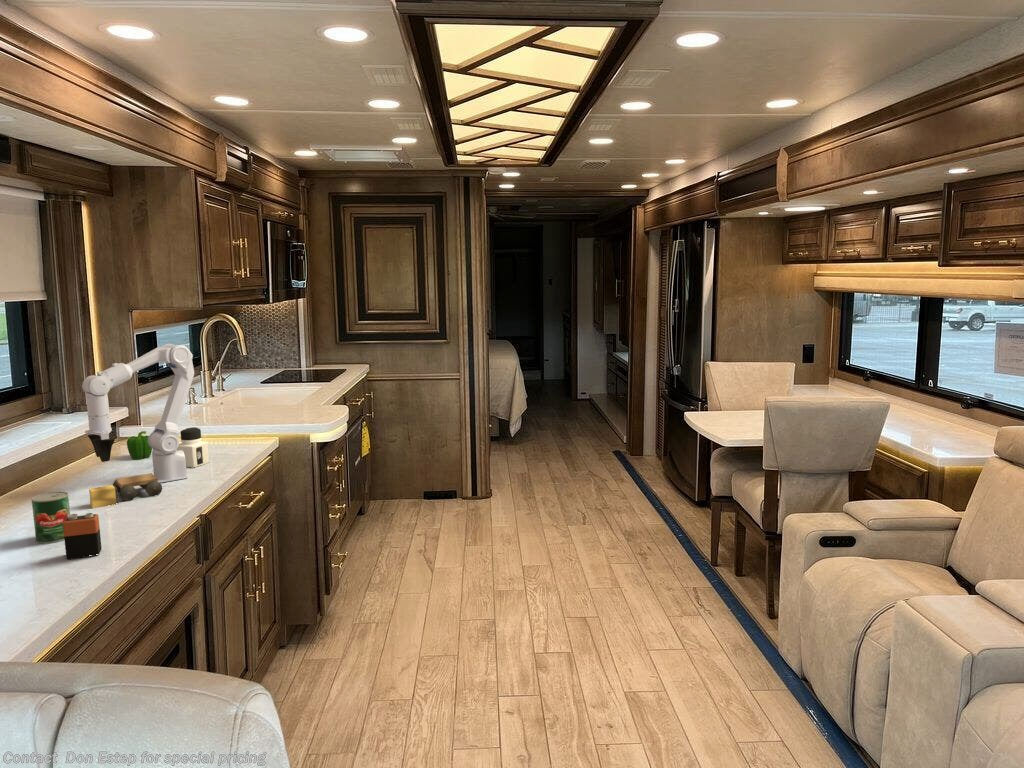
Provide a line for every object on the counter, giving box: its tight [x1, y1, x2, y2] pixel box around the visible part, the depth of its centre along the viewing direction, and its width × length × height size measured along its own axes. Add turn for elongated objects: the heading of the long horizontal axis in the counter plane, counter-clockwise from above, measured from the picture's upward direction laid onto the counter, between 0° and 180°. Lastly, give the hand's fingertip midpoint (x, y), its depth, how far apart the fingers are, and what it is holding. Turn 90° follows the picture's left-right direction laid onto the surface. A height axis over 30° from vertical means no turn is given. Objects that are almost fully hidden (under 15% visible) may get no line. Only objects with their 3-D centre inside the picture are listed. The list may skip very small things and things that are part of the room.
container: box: [176, 427, 210, 469], centre depth 255 cm, size 8×8×13 cm
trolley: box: [112, 472, 163, 502], centre depth 222 cm, size 11×11×5 cm
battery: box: [63, 512, 102, 560], centre depth 173 cm, size 4×7×10 cm, turn 111°
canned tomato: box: [30, 491, 71, 544], centre depth 184 cm, size 8×8×11 cm
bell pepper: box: [126, 430, 153, 460], centre depth 266 cm, size 8×8×10 cm
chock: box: [88, 484, 119, 509], centre depth 212 cm, size 7×4×5 cm, turn 128°
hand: (103, 458), depth 223 cm, fingers open, 7 cm apart
